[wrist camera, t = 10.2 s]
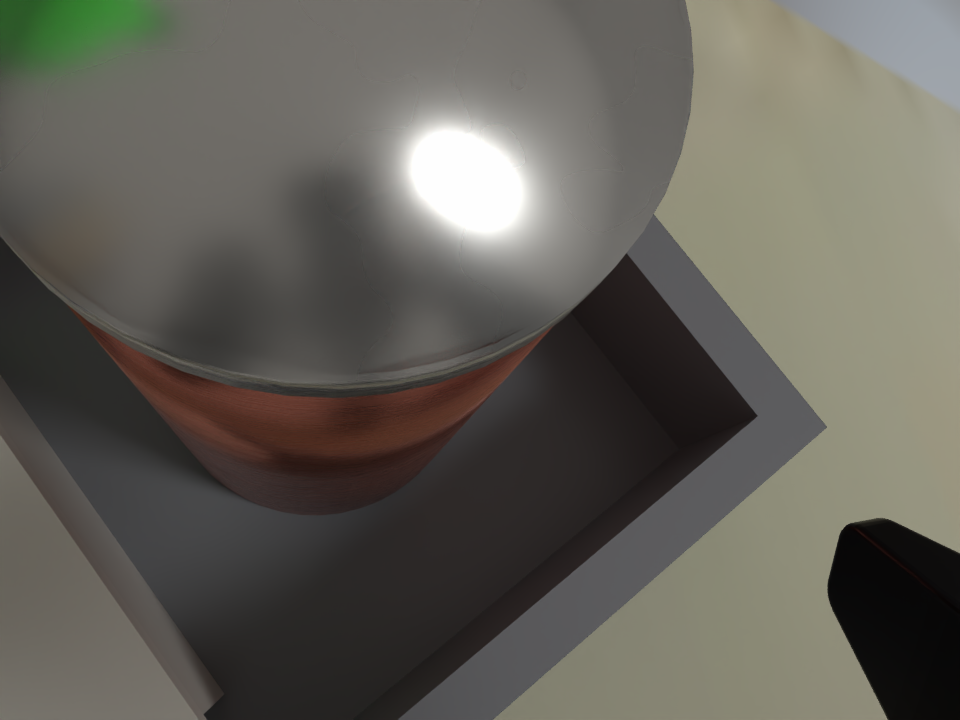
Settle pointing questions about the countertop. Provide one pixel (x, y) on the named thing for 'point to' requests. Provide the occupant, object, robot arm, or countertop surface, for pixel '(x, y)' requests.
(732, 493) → the tote
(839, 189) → the countertop surface
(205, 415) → the tin can
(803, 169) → the countertop surface
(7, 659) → the egg carton
